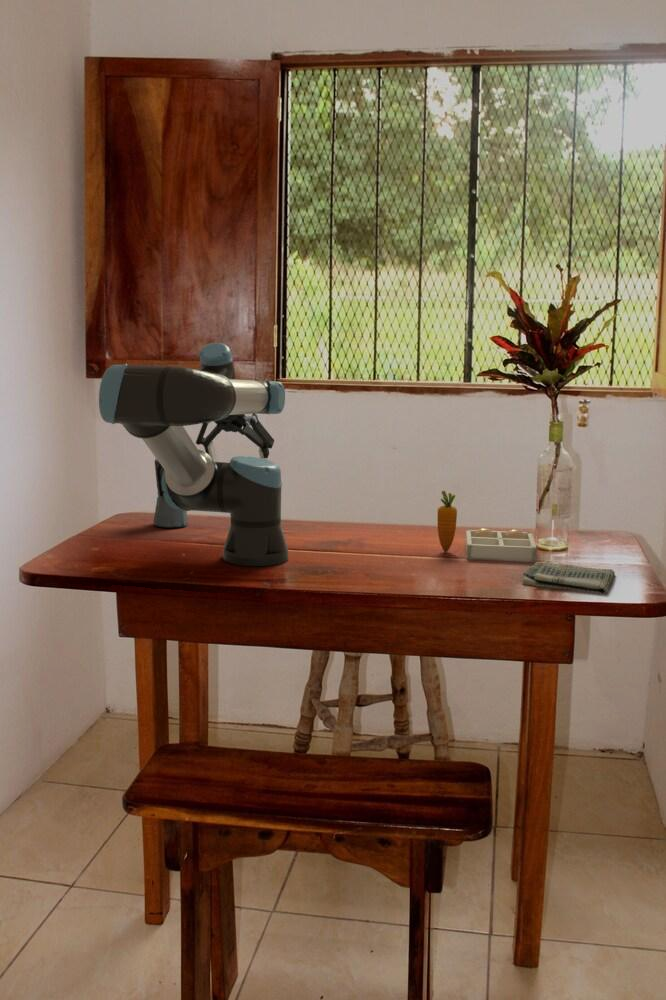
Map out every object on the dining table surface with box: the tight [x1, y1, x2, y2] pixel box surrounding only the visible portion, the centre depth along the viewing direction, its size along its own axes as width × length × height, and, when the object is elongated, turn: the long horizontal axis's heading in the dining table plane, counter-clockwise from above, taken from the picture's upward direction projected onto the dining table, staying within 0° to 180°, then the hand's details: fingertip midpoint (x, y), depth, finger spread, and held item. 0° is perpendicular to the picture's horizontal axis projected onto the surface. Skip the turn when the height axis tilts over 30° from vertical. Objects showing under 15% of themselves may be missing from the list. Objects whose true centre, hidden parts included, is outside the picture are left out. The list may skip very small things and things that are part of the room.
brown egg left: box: [475, 527, 493, 538], centre depth 259 cm, size 5×5×5 cm
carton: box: [465, 529, 537, 563], centre depth 255 cm, size 16×16×4 cm
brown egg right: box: [505, 528, 524, 539], centre depth 258 cm, size 5×5×5 cm
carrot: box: [437, 490, 458, 553], centre depth 253 cm, size 5×5×15 cm
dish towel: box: [521, 560, 616, 596], centre depth 232 cm, size 19×18×3 cm
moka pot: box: [153, 458, 189, 528], centre depth 275 cm, size 10×15×20 cm, turn 169°
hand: (240, 464), depth 273 cm, fingers open, 13 cm apart
